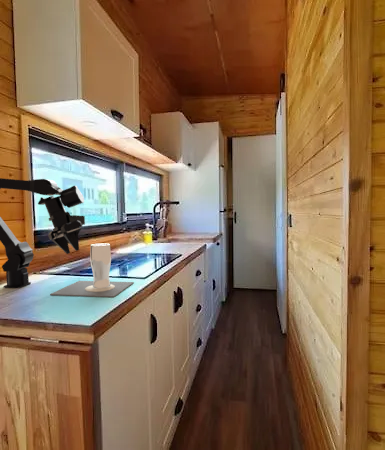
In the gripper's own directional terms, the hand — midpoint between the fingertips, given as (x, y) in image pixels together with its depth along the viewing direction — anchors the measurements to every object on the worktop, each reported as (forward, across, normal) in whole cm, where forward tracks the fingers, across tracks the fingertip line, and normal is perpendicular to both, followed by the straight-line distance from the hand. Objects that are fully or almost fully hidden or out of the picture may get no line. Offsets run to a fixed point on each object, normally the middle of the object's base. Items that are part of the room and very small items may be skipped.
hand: (72, 252), depth 112 cm
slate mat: (+15, -8, +1) cm, 17 cm away
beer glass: (+15, -10, -1) cm, 18 cm away
